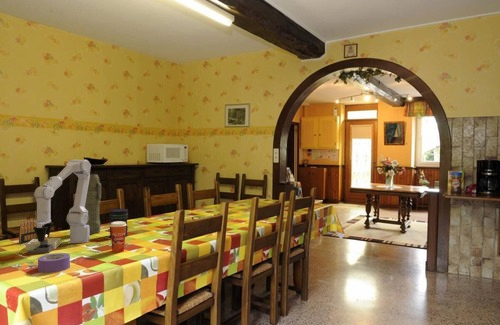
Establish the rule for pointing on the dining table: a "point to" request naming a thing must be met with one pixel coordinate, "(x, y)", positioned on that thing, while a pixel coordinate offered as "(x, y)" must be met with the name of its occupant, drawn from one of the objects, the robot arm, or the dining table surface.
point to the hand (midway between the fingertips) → (43, 239)
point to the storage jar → (119, 217)
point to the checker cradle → (39, 250)
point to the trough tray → (53, 241)
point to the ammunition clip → (27, 232)
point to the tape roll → (53, 262)
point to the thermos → (93, 203)
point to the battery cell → (45, 243)
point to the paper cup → (118, 236)
